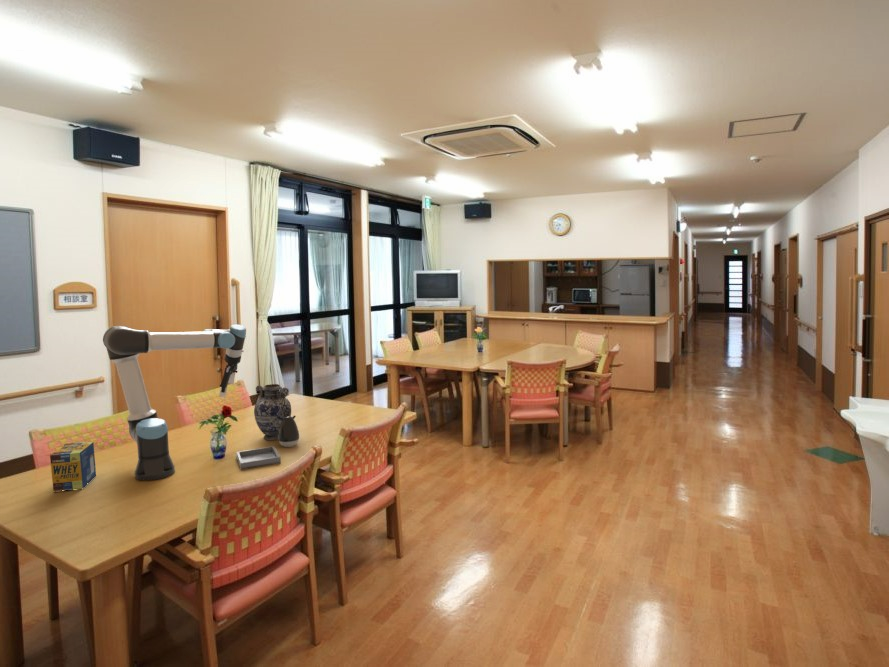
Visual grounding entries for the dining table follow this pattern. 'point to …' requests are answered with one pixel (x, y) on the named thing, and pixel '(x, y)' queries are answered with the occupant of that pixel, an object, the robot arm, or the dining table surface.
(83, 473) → the protein box
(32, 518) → the dining table surface
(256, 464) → the tray
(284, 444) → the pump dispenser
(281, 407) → the decorative vase
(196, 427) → the dining table surface
